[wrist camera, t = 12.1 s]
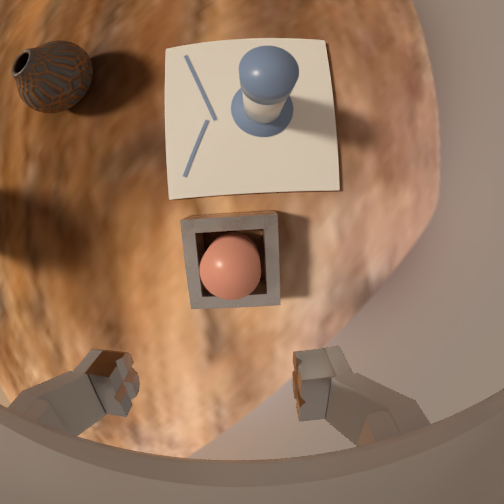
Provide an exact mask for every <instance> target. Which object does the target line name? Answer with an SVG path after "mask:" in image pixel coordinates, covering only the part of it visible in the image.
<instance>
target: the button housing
mask: <svg viewBox="0 0 504 504" xmlns="http://www.w3.org/2000/svg"><path fill="white" fill-rule="evenodd" d="M180 221H181V231H182V241H183V250H184V258H185V267H186V275H187V282H188V289H189V296H190V303H191V309H209V308H236V307H256V306H273V305H280V269H279V238H278V214H277V213H276V212H275V211H274V210H268V211H249V212H233V213H218V214H204V215H191V216H188V217H186V218H184V219H182V220H180ZM253 229H263V245H264V267H265V281H259V283H258V285H257V287H256V288H255V289H254V290H253V291H252V292H251V293H250V294H249V295H247V296H245V297H243V298H241V299H237V300H226V299H221V298H219V297H217V296H215V295H213V294H212V293H210V292H209V291H208V290H207V289H206V287H205V286H204V284H203V282H202V280H201V277H200V263H201V260H202V257H203V256H204V244H203V232H219V231H235V230H253Z"/></svg>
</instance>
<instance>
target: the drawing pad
mask: <svg viewBox="0 0 504 504" xmlns="http://www.w3.org/2000/svg"><path fill="white" fill-rule="evenodd" d="M259 46H276V47H279V48H282V49H284V50H286V51H287V52H289V53H290V54H291V55H292V56H293V57H294V58H295V60H296V62H297V64H298V67H299V77H298V80H297V82H296V84H295V86H294V88H293V90H292V92H291V94H290V95H289V97H288V98H287V99H286V101H285V104H284V106H283V108H282V110H281V112H280V115H279V116H278V118H277V119H276V120H274V121H273V122H271V123H268V124H258V123H255V122H253V121H251V120H250V119H249V118H248V117H247V116H246V114H245V112H244V105H243V93H242V89H241V86H240V79H239V63H240V61H241V59H242V57H243V56H244V55H245V54H246V53H247V52H248V51H250V50H251V49H253V48H256V47H259ZM165 136H166V160H167V177H168V191H169V200H171V199H181V198H192V197H203V196H216V195H230V194H245V193H264V192H288V191H330V190H340V186H339V163H338V146H337V133H336V121H335V111H334V101H333V93H332V84H331V77H330V70H329V63H328V56H327V50H326V44H325V41H323V40H311V39H293V38H253V39H235V40H223V41H213V42H204V43H197V44H190V45H184V46H178V47H173V48H168V49H166V59H165Z"/></svg>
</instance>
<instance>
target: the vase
mask: <svg viewBox="0 0 504 504" xmlns="http://www.w3.org/2000/svg"><path fill="white" fill-rule="evenodd" d="M12 75H13V77H14V78H15V80H16V84H17V88H18V92H19V95H20V97H21V99H22V100H23V101H24V102H25V103H26V104H27V105H28V106H29V107H30V108H32V109H34V110H36V111H39V112H44V113H57V112H62V111H65V110H67V109H69V108H71V107H73V106H74V105H75V104H77V103H78V102H79V101H80V100H81V99H82V98H83V97H84V95H85V94H86V93H87V91H88V89H89V87H90V85H91V82H92V77H93V66H92V62H91V60H90V57H89V56H88V54H87V53H86V52H85V51H84V50H83V49H82V48H81V47H79V46H78V45H76V44H74V43H71V42H68V41H52V42H48V43H45V44H43V45H40V46H38V47H36V48H31V49H26V50H24V51H22V52H21V53H20V54H19V55H18V57H17V58H16V60H15V61H14V63H13V66H12Z"/></svg>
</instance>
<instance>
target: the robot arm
mask: <svg viewBox="0 0 504 504" xmlns="http://www.w3.org/2000/svg"><path fill="white" fill-rule="evenodd" d="M133 363H134V361H133V359H132V356H131V354H129V353H128V352H119V351H110V350H102V349H92V350H91V351H90V352H89V353H88V354H87V355H86V357H85V358H84V359H83V360H82V361H81V362H80V364H79V365H78V366H77V367H76V368H75V370H74V371H73V372H72V371H69V372H66V373H64V374H62V375H59V376H57V377H55V378H52V379H50V380H48V381H45V382H43V383H41V384H38V385H36V386H33V387H31V388H29V389H26V390H24V391H22V392H21V393H20V394H19V395H18V397H17V398H16V399H15V400H14V401H13V402H12V403H11V404H10V406H9V407H8V408H6V407H4V406H2V405H0V504H504V389H502V390H501V391H499V392H497V393H495V394H494V395H492V396H490V397H488V398H487V399H485V400H483V401H481V402H479V403H477V404H475V405H473V406H471V407H469V408H467V409H465V410H463V411H461V412H459V413H456V414H454V415H452V416H450V417H448V418H445V419H443V420H440V421H438V422H436V423H433V424H430V422H429V421H428V419H427V417H426V416H425V414H424V413H423V411H422V410H421V408H420V407H419V405H418V404H417V402H416V401H415V400H414V399H411V398H409V397H407V396H405V395H403V394H400V393H398V392H396V391H394V390H392V389H390V388H387V387H385V386H383V385H381V384H379V383H377V382H375V381H373V380H371V379H369V378H367V377H365V376H363V375H361V374H359V373H355V374H353V372H352V370H351V368H350V366H349V364H348V362H347V360H346V358H345V356H344V354H343V353H342V351H341V349H340V347H339V346H333V347H326V348H321V349H313V350H305V351H295V352H293V365H294V369H295V370H294V371H293V392H294V398H295V399H296V400H297V403H296V408H297V413H298V418H299V421H309V420H318V419H326V421H327V422H329V423H330V424H331V425H332V426H333V427H335V428H336V429H337V430H338V431H339V432H341V433H342V434H343V435H344V436H345V437H346V438H348V439H349V440H350V441H351V442H353V443H354V444H355V445H356V447H354V448H350V449H345V450H340V451H334V452H329V453H323V454H316V455H309V456H301V457H293V458H281V459H269V460H268V459H267V460H206V459H205V460H204V459H191V458H180V457H171V456H163V455H156V454H150V453H144V452H138V451H133V450H128V449H123V448H118V447H114V446H110V445H106V444H102V443H98V442H94V441H91V440H87V439H84V438H81V437H77V436H78V435H79V434H81V433H82V432H83V431H85V430H86V429H88V428H89V427H90V426H92V425H93V424H94V423H96V422H97V421H98V420H100V419H101V418H103V417H104V416H105V415H106V414H111V415H117V416H124V417H127V415H128V413H129V411H130V409H131V407H132V402H131V399H133V398H135V397H136V396H137V394H138V392H139V385H140V382H139V377H138V374H137V372H136V371H135V370H134V369H133V368H132V365H133Z"/></svg>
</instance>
